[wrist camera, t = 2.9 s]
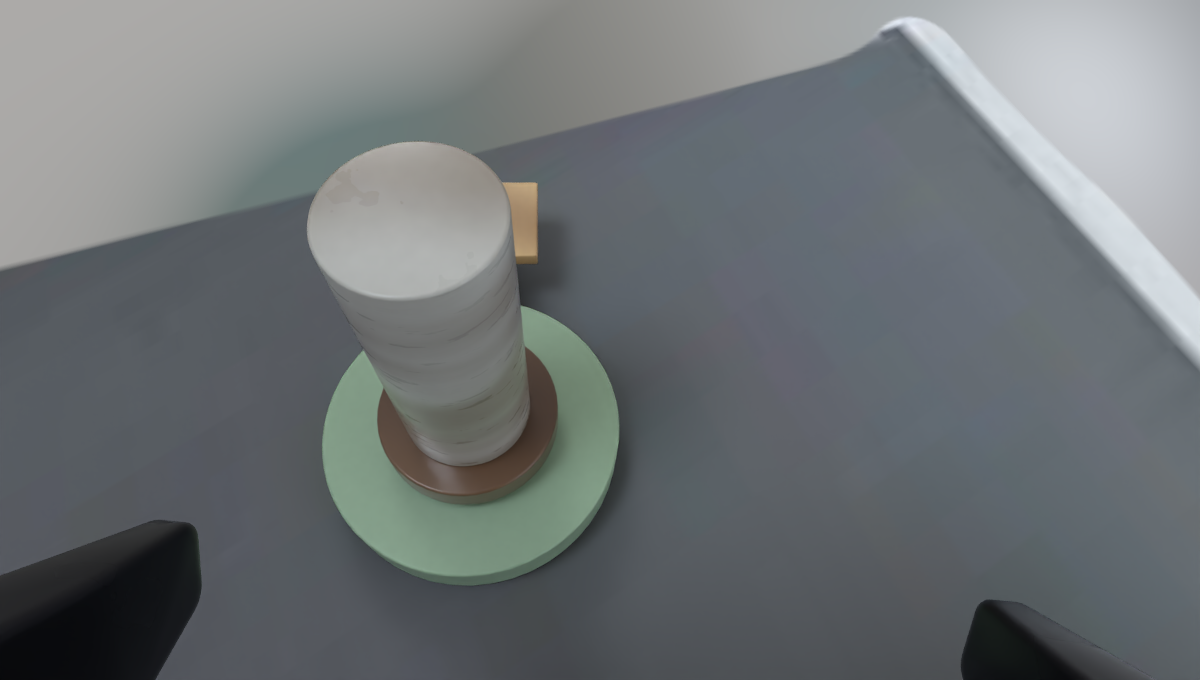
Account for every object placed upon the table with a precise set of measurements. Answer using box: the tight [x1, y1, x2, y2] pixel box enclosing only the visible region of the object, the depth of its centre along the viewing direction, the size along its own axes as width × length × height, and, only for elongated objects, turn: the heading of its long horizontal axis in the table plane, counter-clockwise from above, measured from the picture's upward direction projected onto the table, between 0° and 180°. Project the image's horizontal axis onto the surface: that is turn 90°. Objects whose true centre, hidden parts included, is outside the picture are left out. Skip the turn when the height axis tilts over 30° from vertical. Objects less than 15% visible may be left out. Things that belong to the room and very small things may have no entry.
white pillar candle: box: [307, 141, 558, 505], centre depth 18 cm, size 11×5×10 cm, turn 2°
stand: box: [322, 306, 619, 586], centre depth 22 cm, size 9×9×2 cm
